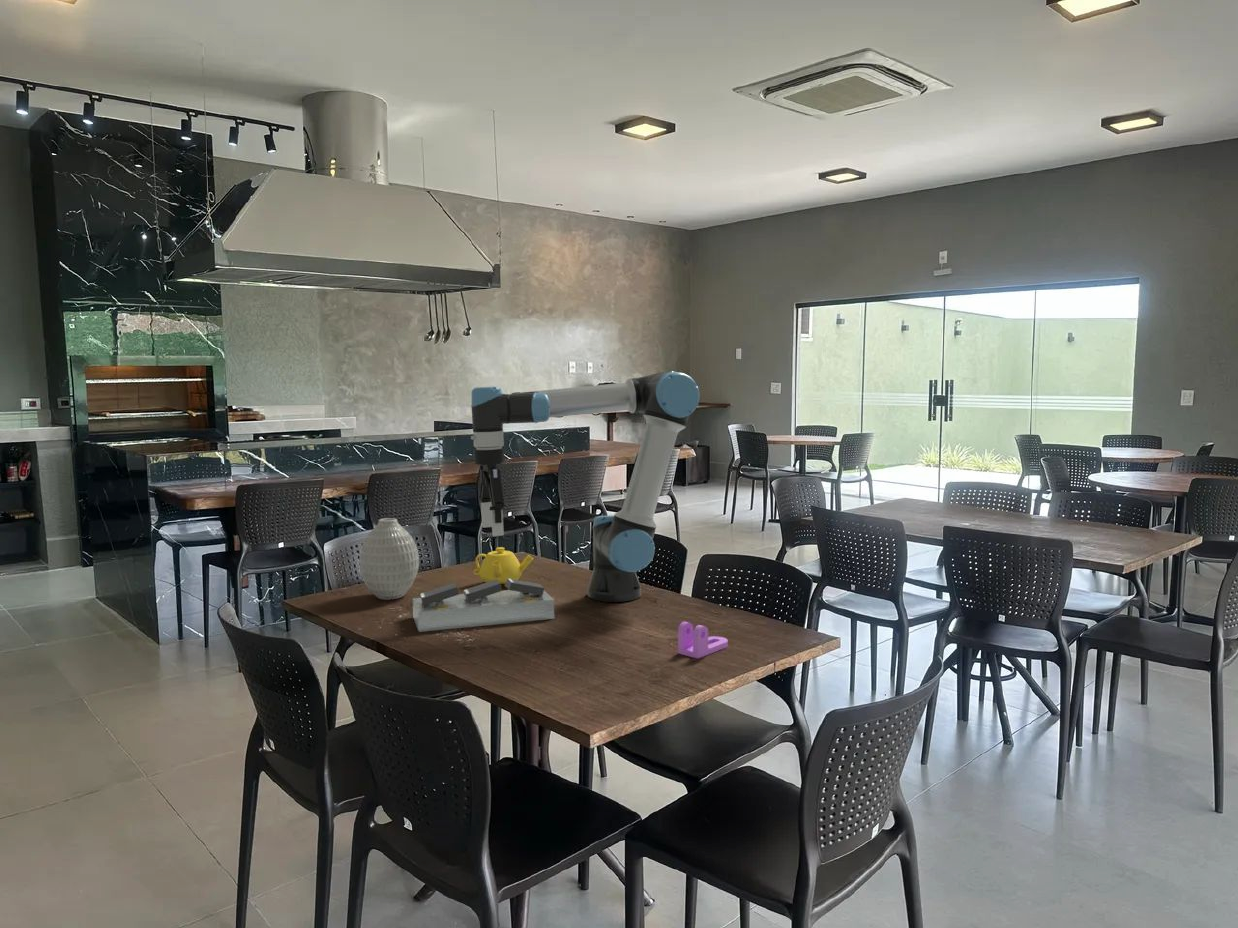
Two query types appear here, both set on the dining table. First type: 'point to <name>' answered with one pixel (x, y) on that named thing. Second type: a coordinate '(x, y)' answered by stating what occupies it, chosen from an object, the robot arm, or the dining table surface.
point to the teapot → (500, 566)
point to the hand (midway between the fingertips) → (492, 531)
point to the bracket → (698, 641)
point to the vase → (389, 560)
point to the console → (482, 610)
